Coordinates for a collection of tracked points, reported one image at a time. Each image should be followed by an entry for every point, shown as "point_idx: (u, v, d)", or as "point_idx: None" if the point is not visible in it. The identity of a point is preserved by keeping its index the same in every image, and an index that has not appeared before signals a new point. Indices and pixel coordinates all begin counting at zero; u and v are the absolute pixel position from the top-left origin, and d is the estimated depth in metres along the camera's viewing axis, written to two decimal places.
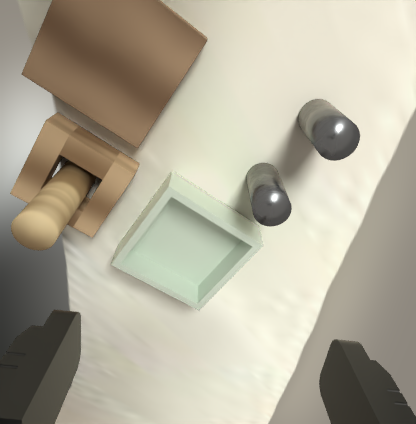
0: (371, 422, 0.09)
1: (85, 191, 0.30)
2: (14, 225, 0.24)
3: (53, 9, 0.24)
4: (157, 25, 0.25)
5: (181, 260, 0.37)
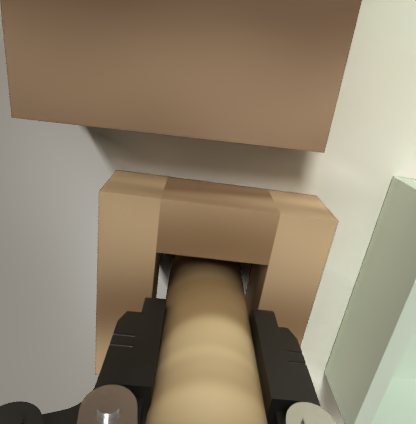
0: (263, 376, 0.09)
1: (246, 309, 0.12)
2: None
3: None
4: None
5: None
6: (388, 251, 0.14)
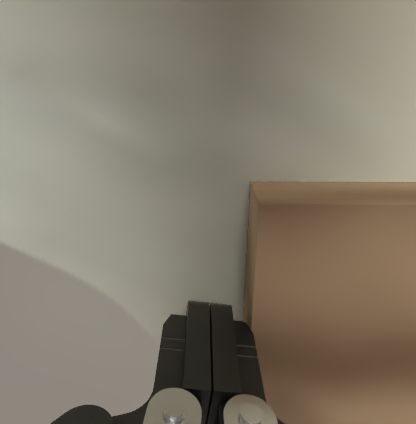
0: (211, 369, 0.09)
1: None
2: None
3: (259, 338, 0.11)
4: None
5: None
6: None
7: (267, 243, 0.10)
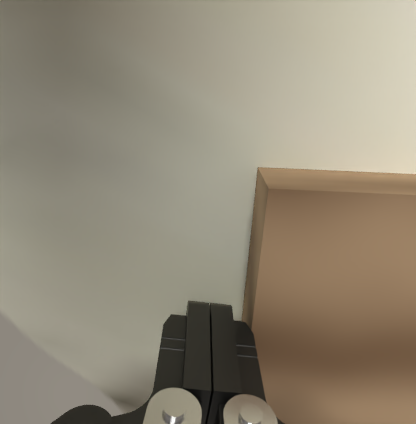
0: (211, 369, 0.09)
1: None
2: None
3: (261, 327, 0.11)
4: None
5: None
6: None
7: (274, 229, 0.10)
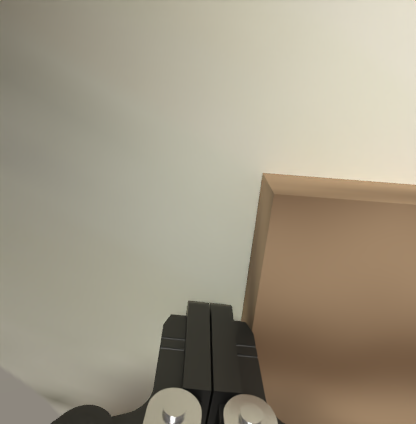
0: (211, 369, 0.09)
1: None
2: None
3: (261, 331, 0.11)
4: None
5: None
6: None
7: (278, 234, 0.10)
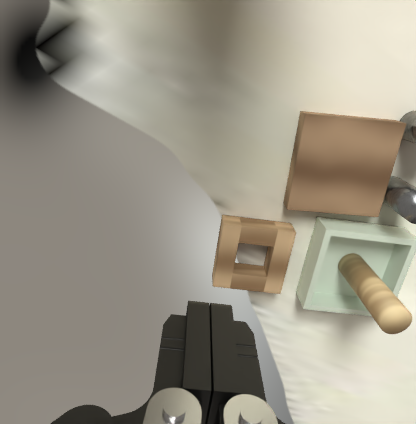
0: (211, 369, 0.09)
1: None
2: (382, 323, 0.33)
3: (299, 160, 0.36)
4: (369, 133, 0.35)
5: None
6: (314, 242, 0.40)
7: (306, 126, 0.34)
